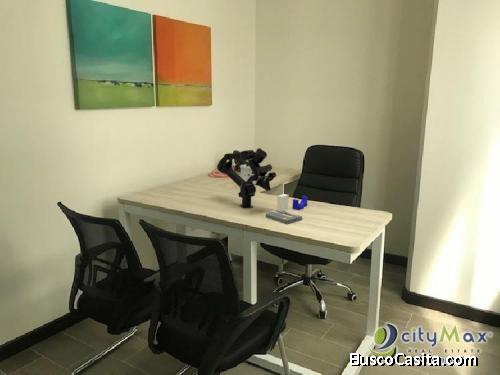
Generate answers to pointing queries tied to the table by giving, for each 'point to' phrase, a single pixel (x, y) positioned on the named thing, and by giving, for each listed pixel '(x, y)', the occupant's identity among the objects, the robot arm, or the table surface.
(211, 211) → the table surface
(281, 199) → the fader handle
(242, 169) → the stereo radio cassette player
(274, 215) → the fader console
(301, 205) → the cable clip
